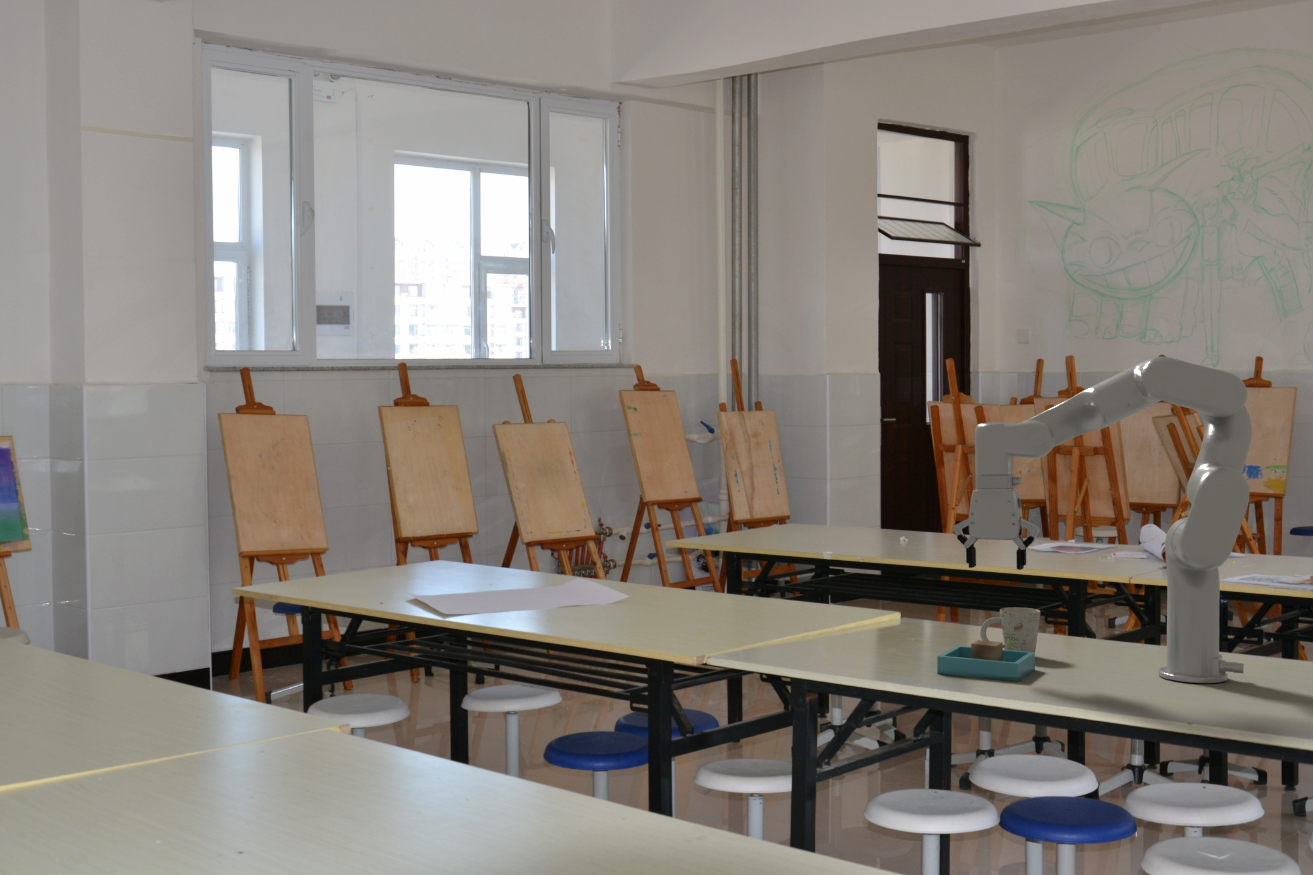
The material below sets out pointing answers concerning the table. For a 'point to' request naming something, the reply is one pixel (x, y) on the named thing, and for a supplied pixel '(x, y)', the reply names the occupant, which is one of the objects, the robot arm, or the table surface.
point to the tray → (986, 664)
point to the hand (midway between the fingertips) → (996, 568)
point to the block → (987, 650)
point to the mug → (1016, 628)
